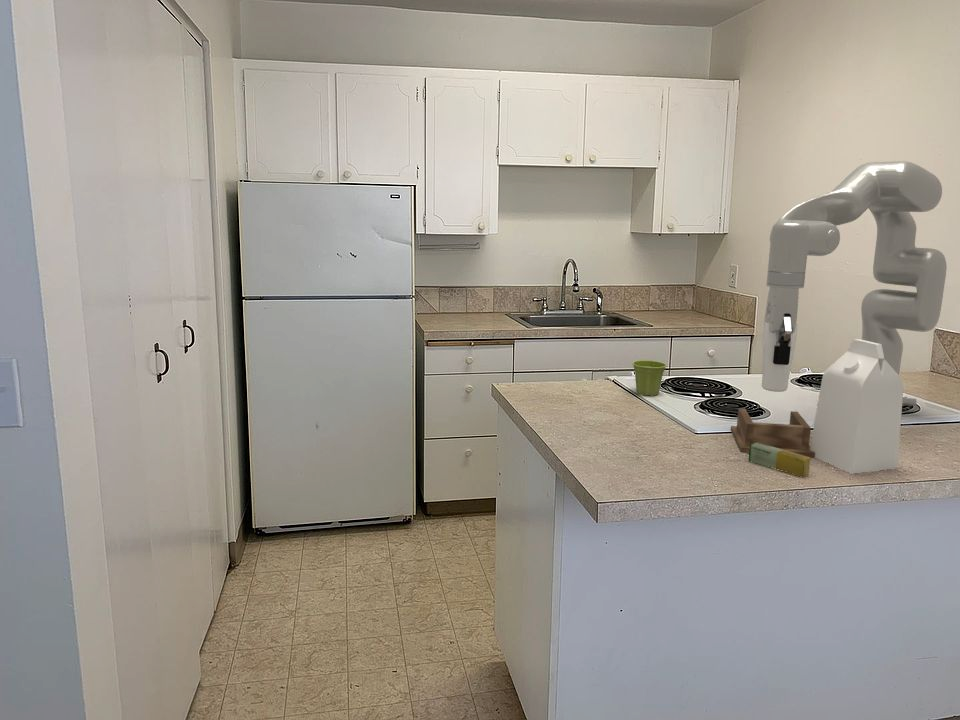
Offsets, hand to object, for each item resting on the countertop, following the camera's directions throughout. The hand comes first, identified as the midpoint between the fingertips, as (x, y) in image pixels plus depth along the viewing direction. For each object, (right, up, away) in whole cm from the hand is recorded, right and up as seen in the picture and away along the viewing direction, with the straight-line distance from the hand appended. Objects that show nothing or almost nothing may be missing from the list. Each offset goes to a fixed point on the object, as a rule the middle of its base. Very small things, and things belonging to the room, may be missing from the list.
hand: (777, 360), depth 160 cm
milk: (+12, -22, -8) cm, 26 cm away
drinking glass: (0, -7, +2) cm, 7 cm away
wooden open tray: (0, -19, +3) cm, 19 cm away
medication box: (-5, -22, -12) cm, 26 cm away
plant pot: (-18, -10, +45) cm, 49 cm away
